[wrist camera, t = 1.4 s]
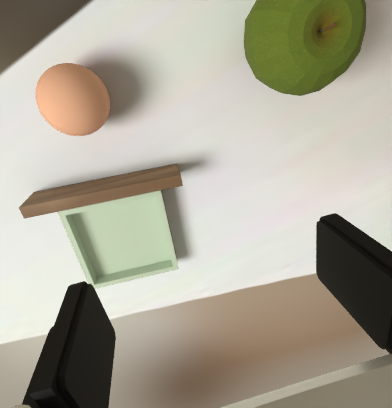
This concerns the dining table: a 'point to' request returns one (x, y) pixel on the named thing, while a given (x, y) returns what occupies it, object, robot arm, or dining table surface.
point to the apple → (303, 42)
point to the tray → (121, 238)
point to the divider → (101, 190)
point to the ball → (72, 99)
